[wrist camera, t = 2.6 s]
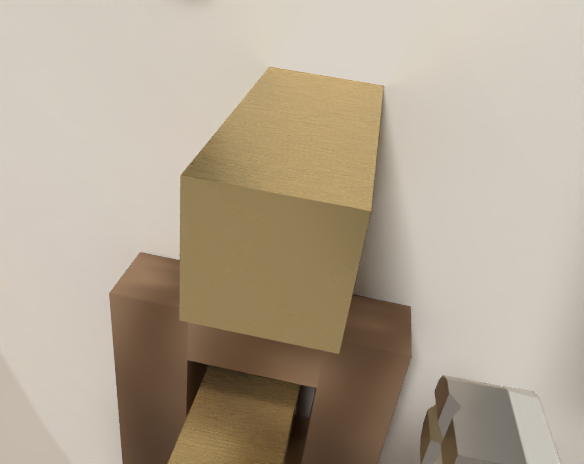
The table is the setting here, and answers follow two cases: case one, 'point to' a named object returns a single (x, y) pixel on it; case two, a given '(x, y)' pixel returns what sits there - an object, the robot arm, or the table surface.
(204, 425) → the seated billet
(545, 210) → the table surface
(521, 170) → the table surface
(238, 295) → the block
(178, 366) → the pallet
